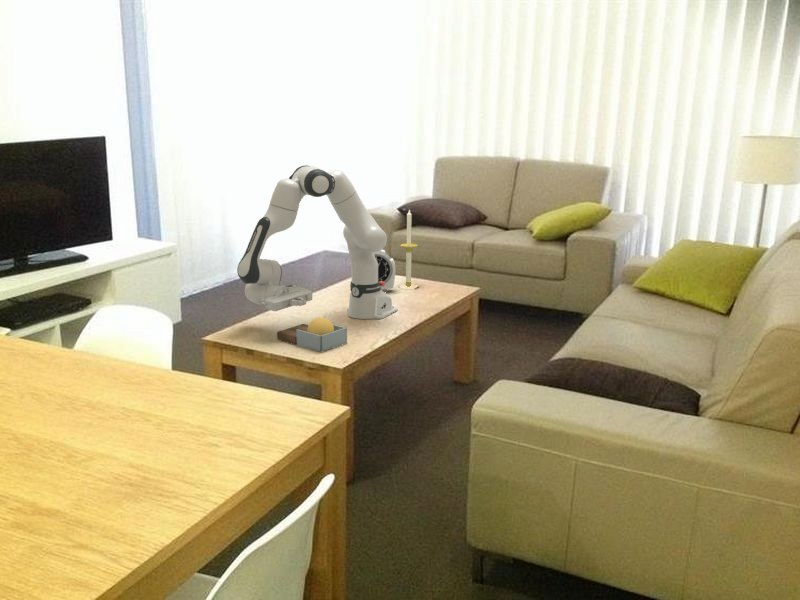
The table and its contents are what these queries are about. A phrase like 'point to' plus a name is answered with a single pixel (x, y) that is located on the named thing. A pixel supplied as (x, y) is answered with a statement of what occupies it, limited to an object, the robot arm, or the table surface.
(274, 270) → the robot arm
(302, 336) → the tray
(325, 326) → the ball
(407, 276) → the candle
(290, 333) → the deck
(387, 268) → the alarm clock
